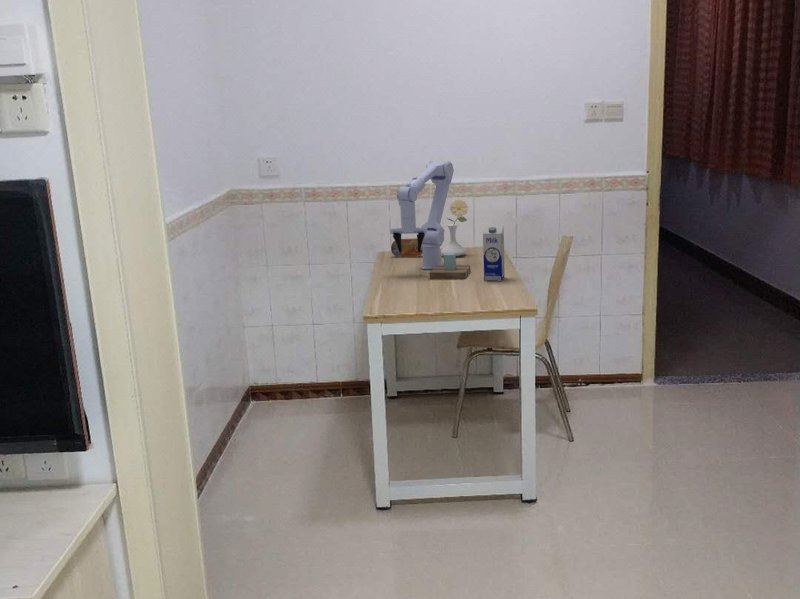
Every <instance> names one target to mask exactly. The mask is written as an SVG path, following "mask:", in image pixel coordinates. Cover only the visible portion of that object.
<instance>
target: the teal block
mask: <svg viewBox="0 0 800 599" xmlns="http://www.w3.org/2000/svg"><path fill="white" fill-rule="evenodd" d="M456 261H457V260H456V256H455V253H445V254H444V255H443V264H444V270H455V268H456V264H457V263H456Z"/></svg>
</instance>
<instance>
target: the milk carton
mask: <svg viewBox="0 0 800 599" xmlns="http://www.w3.org/2000/svg"><path fill="white" fill-rule="evenodd" d="M504 226H505V225H485V226H484V229H483V231H482V250H483V251H482V252H483V281H484V280H502V279H503V278H504V279H505V277H506V276H505V238H504V237H505V235H504V233H505V232H504V230H505V228H504ZM504 276H505V277H504ZM504 279H503V280H504ZM503 280H502V281H503Z"/></svg>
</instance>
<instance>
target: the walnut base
mask: <svg viewBox="0 0 800 599" xmlns="http://www.w3.org/2000/svg"><path fill="white" fill-rule="evenodd" d="M470 273H471V265H469V264H467V265H466V264H465V265H463V264H462V265H456V268H455V270H444V265H442V266H435V267H434V268H433V269H430V271H429V273H428V274H429V280H466V279H467V278H468V276H469V275H468V274H470ZM466 277H467V278H466Z"/></svg>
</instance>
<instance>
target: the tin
mask: <svg viewBox="0 0 800 599" xmlns="http://www.w3.org/2000/svg"><path fill="white" fill-rule="evenodd" d="M401 245H402V252H399V249H398V246H397V244H396V241H395V240H394V241H392V242H391V246H390V251H391V253H392V255H394V257H396V258H398V259H400V258H404V259H405V257H407V258H418V257H420V256H423V248H422V247H421V251H420V252H418V240H417V237H416V238H401Z"/></svg>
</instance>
